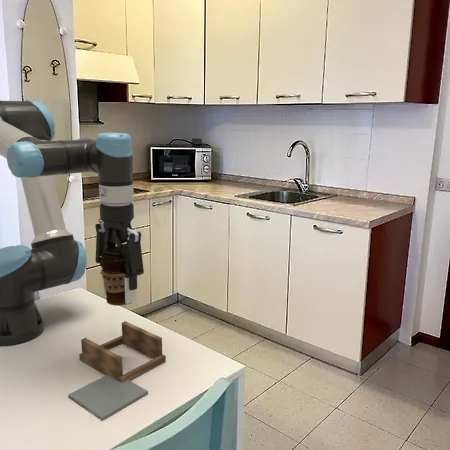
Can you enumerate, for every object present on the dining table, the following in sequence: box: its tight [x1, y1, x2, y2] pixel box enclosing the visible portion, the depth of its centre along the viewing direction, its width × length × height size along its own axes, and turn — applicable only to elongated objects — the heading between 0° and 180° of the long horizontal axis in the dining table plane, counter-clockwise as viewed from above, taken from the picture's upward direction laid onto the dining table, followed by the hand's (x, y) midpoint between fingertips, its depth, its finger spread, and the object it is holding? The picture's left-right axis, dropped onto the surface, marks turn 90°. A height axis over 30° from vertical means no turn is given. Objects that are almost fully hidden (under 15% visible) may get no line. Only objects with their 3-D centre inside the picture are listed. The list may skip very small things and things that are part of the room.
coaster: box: [67, 375, 149, 422], centre depth 101 cm, size 12×12×1 cm
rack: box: [78, 320, 167, 383], centre depth 114 cm, size 16×13×6 cm
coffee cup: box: [100, 245, 133, 307], centre depth 110 cm, size 9×8×13 cm
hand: (119, 297), depth 111 cm, fingers closed on coffee cup, 7 cm apart
